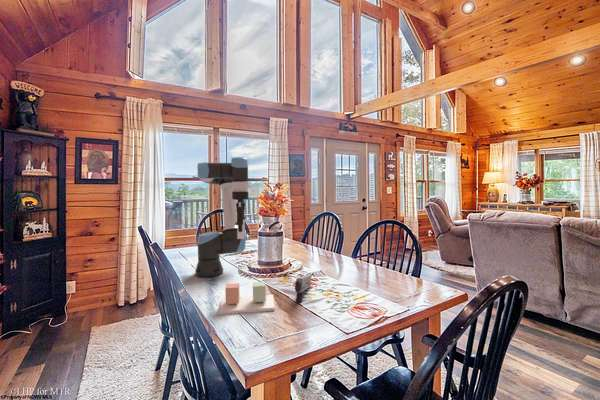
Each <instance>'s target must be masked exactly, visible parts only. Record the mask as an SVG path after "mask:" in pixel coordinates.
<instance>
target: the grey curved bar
mask: <svg viewBox="0 0 600 400" xmlns="http://www.w3.org/2000/svg"><path fill="white" fill-rule="evenodd" d="M311 284H312V274H308V273H307V274H305V275H304V274H303V276H299V277H297V278H296V280H295V283H294V285H295V286H294V290H295V293H296V297H295V303H299V304H301V303H302V302H303V299H304V298H303V297H304V291H306V290H307V289H309V288H310V287H311Z"/></svg>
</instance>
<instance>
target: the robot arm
mask: <svg viewBox="0 0 600 400" xmlns="http://www.w3.org/2000/svg"><path fill="white" fill-rule="evenodd" d="M248 161H249V160H248V158H246V157H242V156H241V157H240V156H239V157H232V158H231V161H230V162H198V163H197V167H196V168H197V169H196V170H197V178H198V179H199V181H200V182H202V183H205V184H209V185H218V187H219V189H220V190H221V194H222V207H223V222H224V223H223V224H224V228H223V229H222V231H221V232H222V233H219V231H218V230H217V231H216V230H214V231H207V232H203V233H201V234H199V235H198V236H197V242H196V243H197V244H196V245H197V260H198V261H197V263H196V267H195V271H194V272H195V273H194V274H195V276H196V277H197V278H203V279H204V278H213V277H218V276H221V275H222V274H223V273H224V268H223V265H222V262H221V259H220V255H227V254H228V255H229V254H239V253H242V252H244V251H245V250H246V249H245V248H246V243H247V242H246V241H247V235H246V229H245V228H246V227H245V226H246V223H245V221H246V220H247V218H246V217H245V209H246V203H245V200H249V198H250V197H249V163H248Z"/></svg>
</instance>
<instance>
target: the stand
mask: <svg viewBox="0 0 600 400" xmlns="http://www.w3.org/2000/svg"><path fill="white" fill-rule="evenodd" d="M224 289H225V292H224V293H225V297H222V299H221V302H220V305H219V309H218V315H231V314H233V315H234V314H246V313H258V312H259V313H260V312H271V311H275V310H276V308H275V307H276V306H275V300H274V299H275V298H274V294H266V301H265V302H253V295H244V296H243V295H242V296H241V295H240V293H241V292H240V283H239V282H237V283H235V282H234V283H226V285H225V288H224Z"/></svg>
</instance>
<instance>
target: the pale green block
mask: <svg viewBox="0 0 600 400" xmlns="http://www.w3.org/2000/svg"><path fill="white" fill-rule="evenodd" d="M266 285H267V284H266V281H256V282H254V281H253V283H252V296H253V302H265V301H266V295H267V294H266V292H267V290H266V287H267V286H266Z"/></svg>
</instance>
